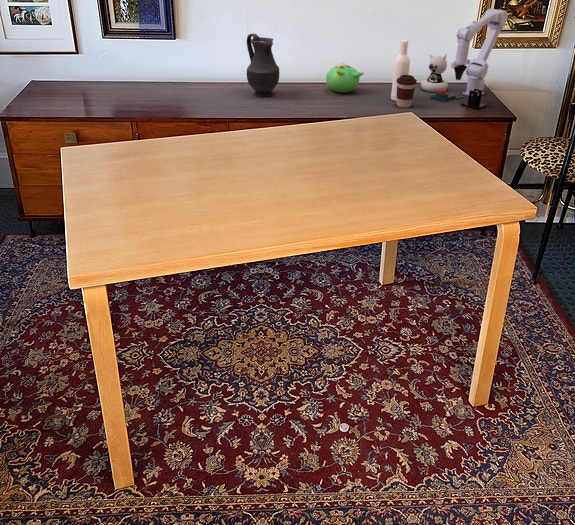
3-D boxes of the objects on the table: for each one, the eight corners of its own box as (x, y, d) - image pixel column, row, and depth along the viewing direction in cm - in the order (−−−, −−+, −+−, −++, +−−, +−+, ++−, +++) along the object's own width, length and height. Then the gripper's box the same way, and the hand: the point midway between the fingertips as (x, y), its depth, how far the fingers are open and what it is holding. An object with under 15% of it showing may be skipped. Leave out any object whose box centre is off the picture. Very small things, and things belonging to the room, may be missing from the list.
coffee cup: (412, 103, 329) (416, 74, 321) (414, 109, 321) (417, 79, 313) (393, 102, 330) (396, 73, 322) (394, 108, 321) (397, 78, 314)
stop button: (441, 91, 337) (441, 88, 336) (447, 93, 335) (447, 90, 334) (437, 93, 335) (437, 89, 334) (443, 94, 332) (443, 91, 331)
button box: (442, 94, 343) (443, 88, 341) (455, 98, 338) (456, 91, 336) (430, 98, 336) (431, 92, 334) (443, 102, 331) (444, 95, 330)
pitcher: (260, 101, 328) (260, 41, 312) (236, 92, 341) (234, 34, 325) (285, 95, 337) (286, 36, 322) (261, 86, 351) (260, 29, 335)
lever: (457, 101, 329) (456, 97, 329) (463, 99, 333) (462, 95, 332) (475, 96, 321) (474, 91, 320) (481, 94, 324) (480, 89, 324)
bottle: (395, 95, 340) (401, 37, 324) (408, 98, 336) (415, 40, 320) (388, 99, 334) (394, 40, 318) (401, 102, 330) (408, 42, 315)
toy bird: (351, 86, 354) (353, 59, 346) (364, 95, 340) (366, 67, 333) (321, 88, 349) (322, 61, 341) (332, 97, 335) (334, 69, 328)
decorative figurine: (415, 89, 350) (419, 52, 340) (428, 84, 360) (433, 48, 349) (439, 95, 342) (444, 57, 332) (452, 89, 352) (457, 52, 341)
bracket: (460, 105, 327) (463, 89, 323) (469, 102, 332) (471, 86, 328) (477, 110, 321) (480, 94, 317) (486, 107, 326) (489, 90, 322)
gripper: (461, 56, 317) (456, 83, 324) (477, 52, 326) (472, 78, 333) (449, 53, 321) (445, 80, 328) (465, 49, 330) (460, 76, 337)
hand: (458, 79), depth 331 cm, fingers closed
